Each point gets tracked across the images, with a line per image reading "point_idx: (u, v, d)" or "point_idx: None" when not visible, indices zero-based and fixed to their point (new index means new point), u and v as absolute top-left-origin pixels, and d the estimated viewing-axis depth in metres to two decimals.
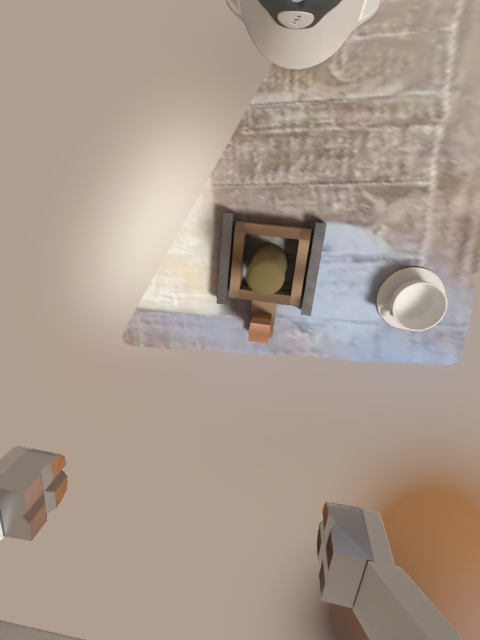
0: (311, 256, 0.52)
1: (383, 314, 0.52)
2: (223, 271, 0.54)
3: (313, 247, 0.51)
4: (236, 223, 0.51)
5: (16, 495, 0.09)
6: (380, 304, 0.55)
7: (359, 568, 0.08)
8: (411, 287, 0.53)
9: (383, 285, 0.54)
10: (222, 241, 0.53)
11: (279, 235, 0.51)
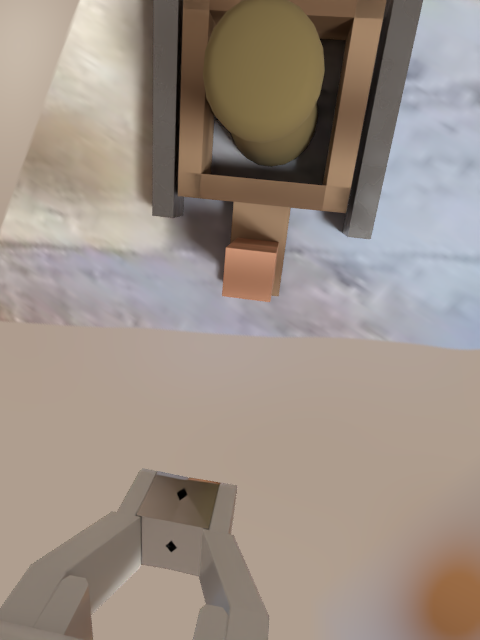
0: (382, 74, 0.20)
1: None
2: (164, 130, 0.23)
3: (389, 46, 0.20)
4: None
5: (163, 524, 0.09)
6: None
7: (197, 536, 0.09)
8: None
9: None
10: (156, 46, 0.21)
11: (301, 8, 0.19)
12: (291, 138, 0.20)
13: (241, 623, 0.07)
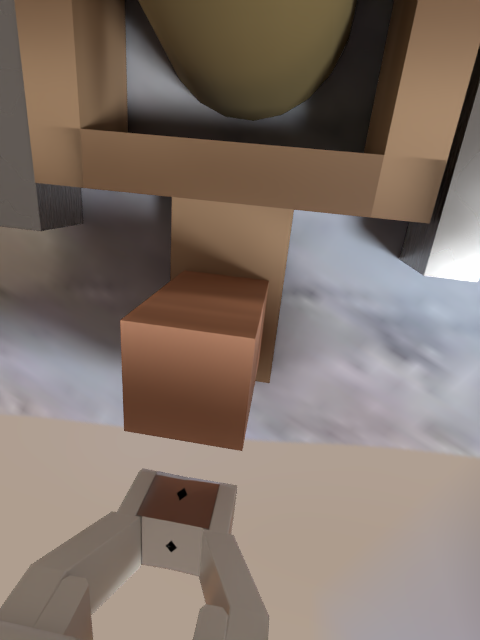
0: None
1: None
2: None
3: None
4: None
5: (163, 523, 0.09)
6: None
7: (197, 536, 0.09)
8: None
9: None
10: None
11: None
12: (298, 0, 0.06)
13: (241, 623, 0.07)
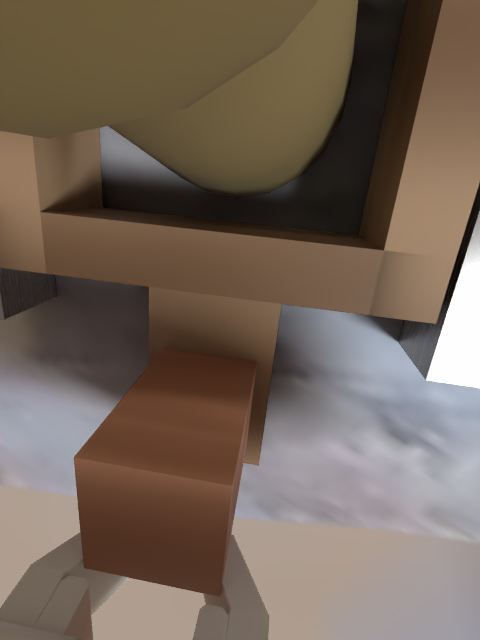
0: None
1: None
2: None
3: None
4: None
5: None
6: None
7: None
8: None
9: None
10: None
11: None
12: (278, 125, 0.05)
13: (241, 623, 0.07)
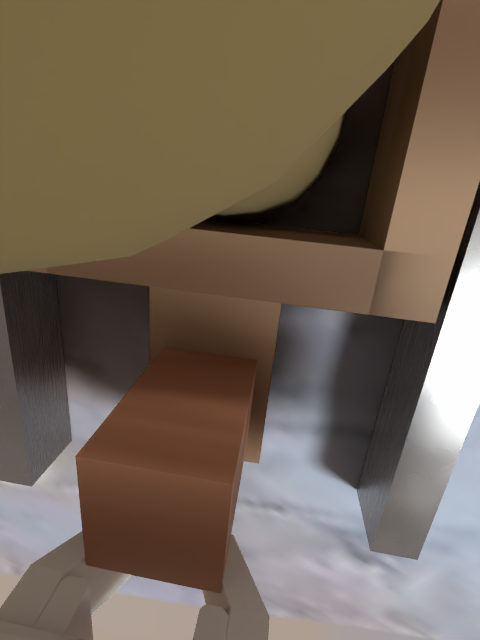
0: (463, 281, 0.08)
1: None
2: None
3: None
4: None
5: None
6: None
7: None
8: None
9: None
10: None
11: None
12: None
13: (241, 623, 0.07)
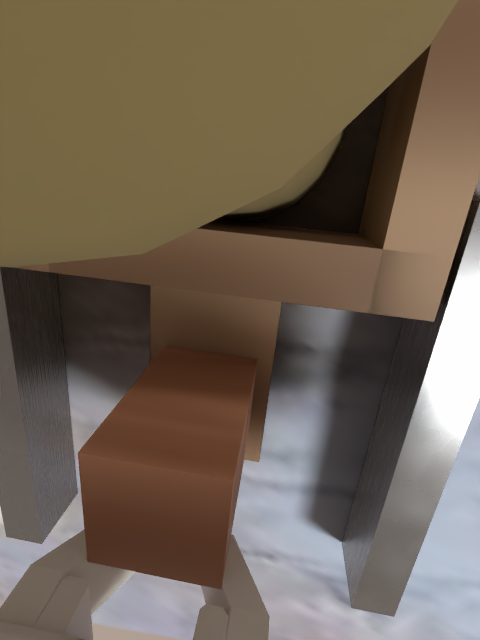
0: (426, 389, 0.09)
1: None
2: (4, 428, 0.12)
3: (444, 345, 0.09)
4: None
5: None
6: None
7: None
8: None
9: None
10: None
11: None
12: None
13: (241, 623, 0.07)
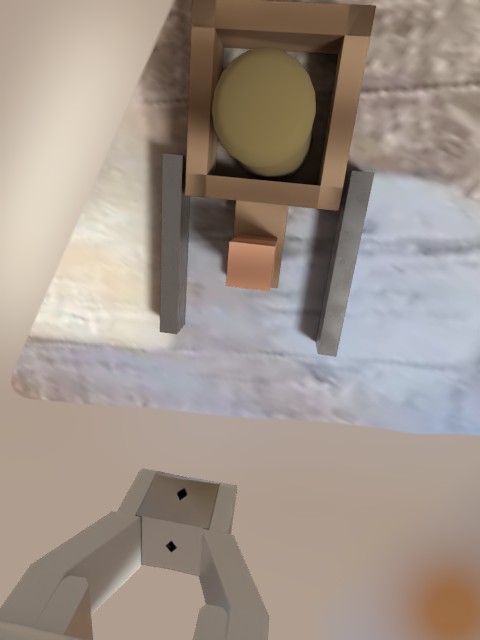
0: (340, 241, 0.26)
1: None
2: (170, 271, 0.28)
3: (345, 223, 0.25)
4: (195, 1, 0.22)
5: (163, 524, 0.09)
6: None
7: (197, 536, 0.09)
8: None
9: None
10: (164, 212, 0.27)
11: (297, 27, 0.21)
12: (287, 161, 0.22)
13: (241, 623, 0.07)
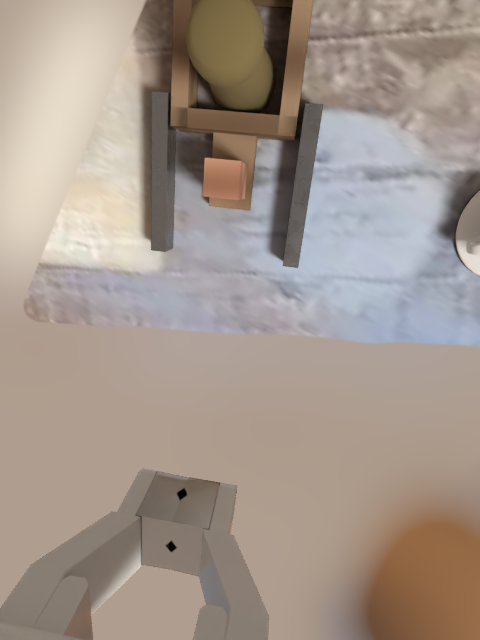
0: (298, 165, 0.31)
1: (474, 250, 0.31)
2: (159, 195, 0.34)
3: (301, 148, 0.31)
4: None
5: (163, 523, 0.09)
6: (462, 239, 0.34)
7: (197, 536, 0.09)
8: None
9: (469, 205, 0.33)
10: (153, 143, 0.32)
11: None
12: (250, 91, 0.28)
13: (241, 623, 0.07)
